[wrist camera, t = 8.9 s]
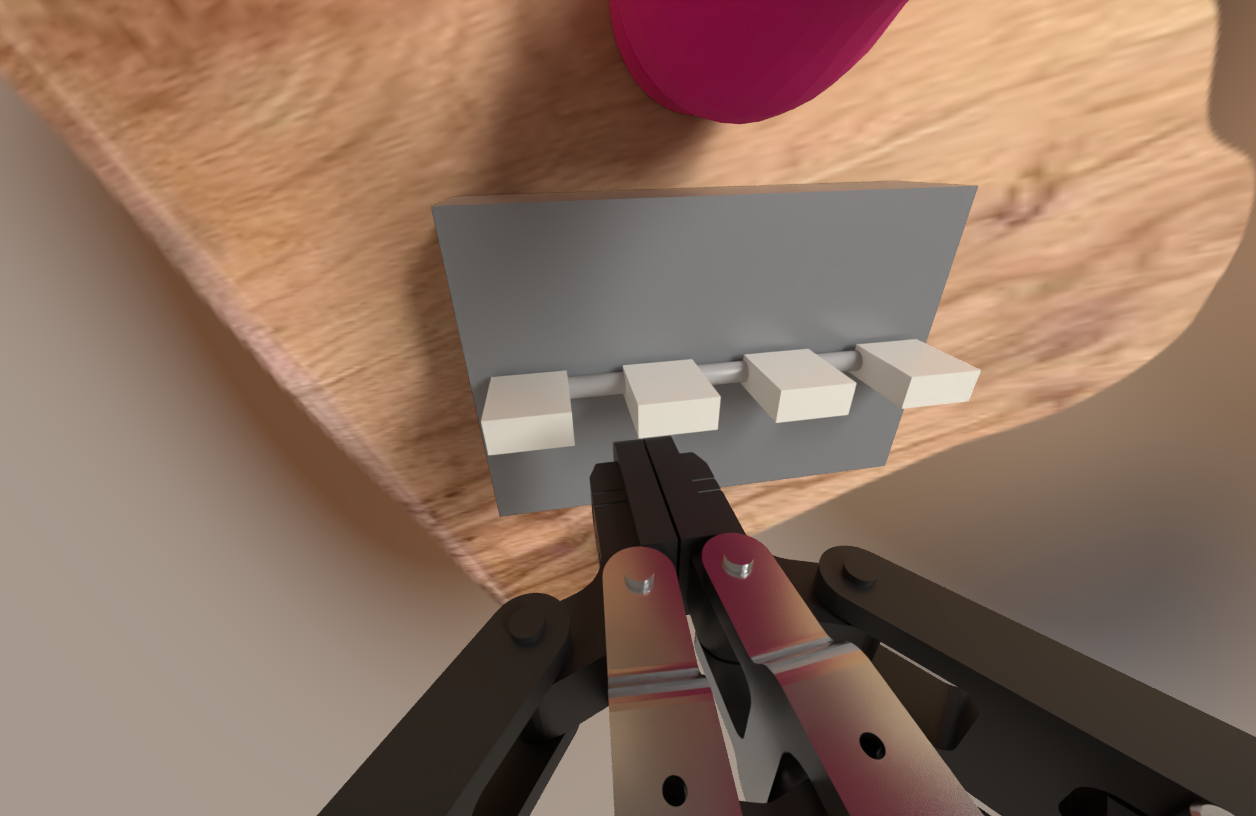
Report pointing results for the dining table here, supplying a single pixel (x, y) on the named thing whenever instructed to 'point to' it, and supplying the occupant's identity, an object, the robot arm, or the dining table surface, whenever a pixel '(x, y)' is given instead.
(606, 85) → the dining table surface
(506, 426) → the breaker paddles
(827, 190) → the breaker panel
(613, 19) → the pepper mill
